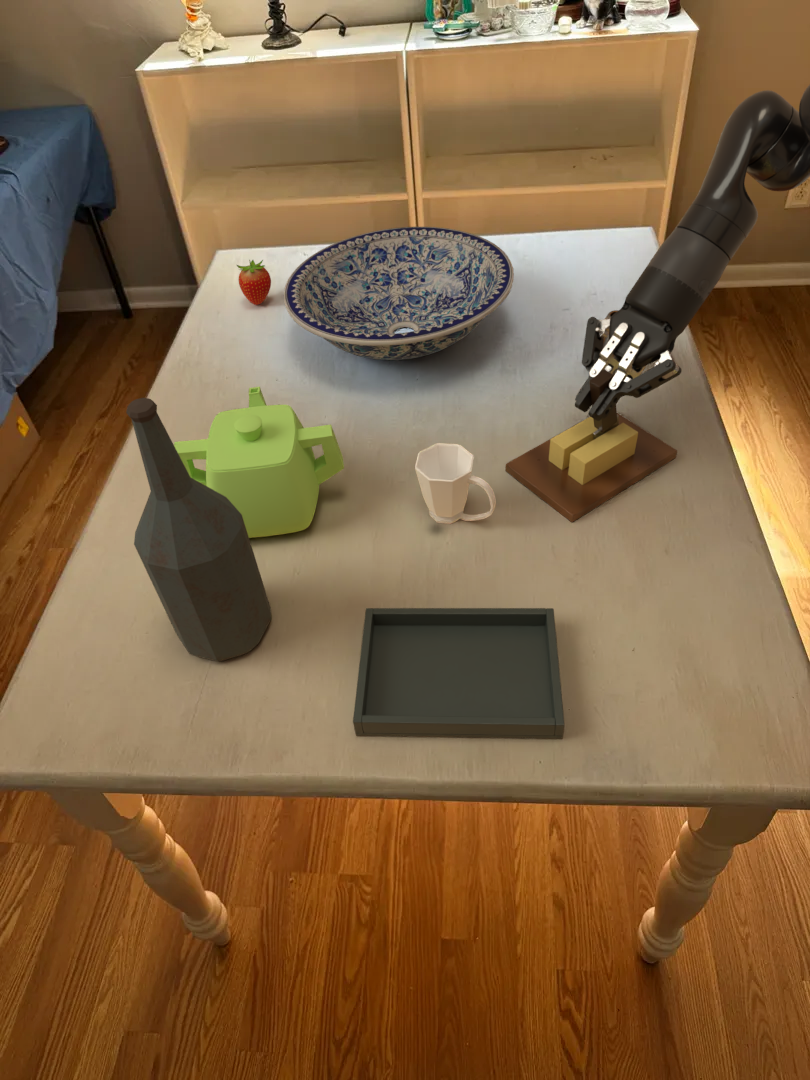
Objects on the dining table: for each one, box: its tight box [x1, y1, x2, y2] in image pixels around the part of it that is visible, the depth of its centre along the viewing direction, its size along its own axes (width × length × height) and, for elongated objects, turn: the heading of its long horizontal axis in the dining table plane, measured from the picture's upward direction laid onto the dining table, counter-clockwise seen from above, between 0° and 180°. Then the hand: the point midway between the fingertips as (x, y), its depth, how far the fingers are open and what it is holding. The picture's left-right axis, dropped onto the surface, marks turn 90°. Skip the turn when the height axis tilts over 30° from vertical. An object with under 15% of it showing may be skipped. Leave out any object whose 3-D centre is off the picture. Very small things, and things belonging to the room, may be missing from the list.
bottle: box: [125, 397, 272, 663], centre depth 75 cm, size 10×10×30 cm
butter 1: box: [549, 416, 597, 470], centre depth 98 cm, size 9×2×4 cm, turn 126°
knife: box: [589, 369, 619, 439], centre depth 95 cm, size 4×2×12 cm, turn 125°
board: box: [504, 412, 678, 523], centre depth 99 cm, size 18×12×1 cm, turn 126°
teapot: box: [173, 386, 345, 539], centre depth 95 cm, size 18×20×13 cm
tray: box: [352, 607, 565, 740], centre depth 78 cm, size 20×14×3 cm
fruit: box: [236, 259, 272, 306], centre depth 130 cm, size 5×5×8 cm
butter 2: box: [568, 423, 638, 485], centre depth 96 cm, size 9×2×4 cm, turn 126°
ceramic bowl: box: [283, 226, 515, 361], centre depth 120 cm, size 34×34×10 cm
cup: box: [414, 442, 497, 525], centre depth 92 cm, size 7×10×8 cm
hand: (586, 413), depth 92 cm, fingers closed on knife, 1 cm apart
